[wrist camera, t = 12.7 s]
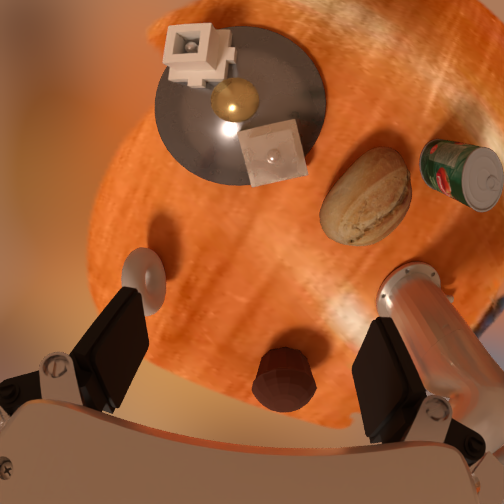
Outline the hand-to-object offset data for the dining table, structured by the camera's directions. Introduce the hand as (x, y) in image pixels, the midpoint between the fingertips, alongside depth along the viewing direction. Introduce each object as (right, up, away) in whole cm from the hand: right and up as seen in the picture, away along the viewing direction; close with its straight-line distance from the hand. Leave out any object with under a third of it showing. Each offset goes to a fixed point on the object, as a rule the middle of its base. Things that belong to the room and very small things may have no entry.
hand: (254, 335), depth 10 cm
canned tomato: (+28, +16, +22) cm, 39 cm away
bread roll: (+15, +11, +25) cm, 31 cm away
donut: (-15, +1, +32) cm, 36 cm away
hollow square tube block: (-6, +28, +18) cm, 34 cm away
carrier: (-2, +22, +21) cm, 31 cm away
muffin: (+6, -18, +39) cm, 43 cm away
